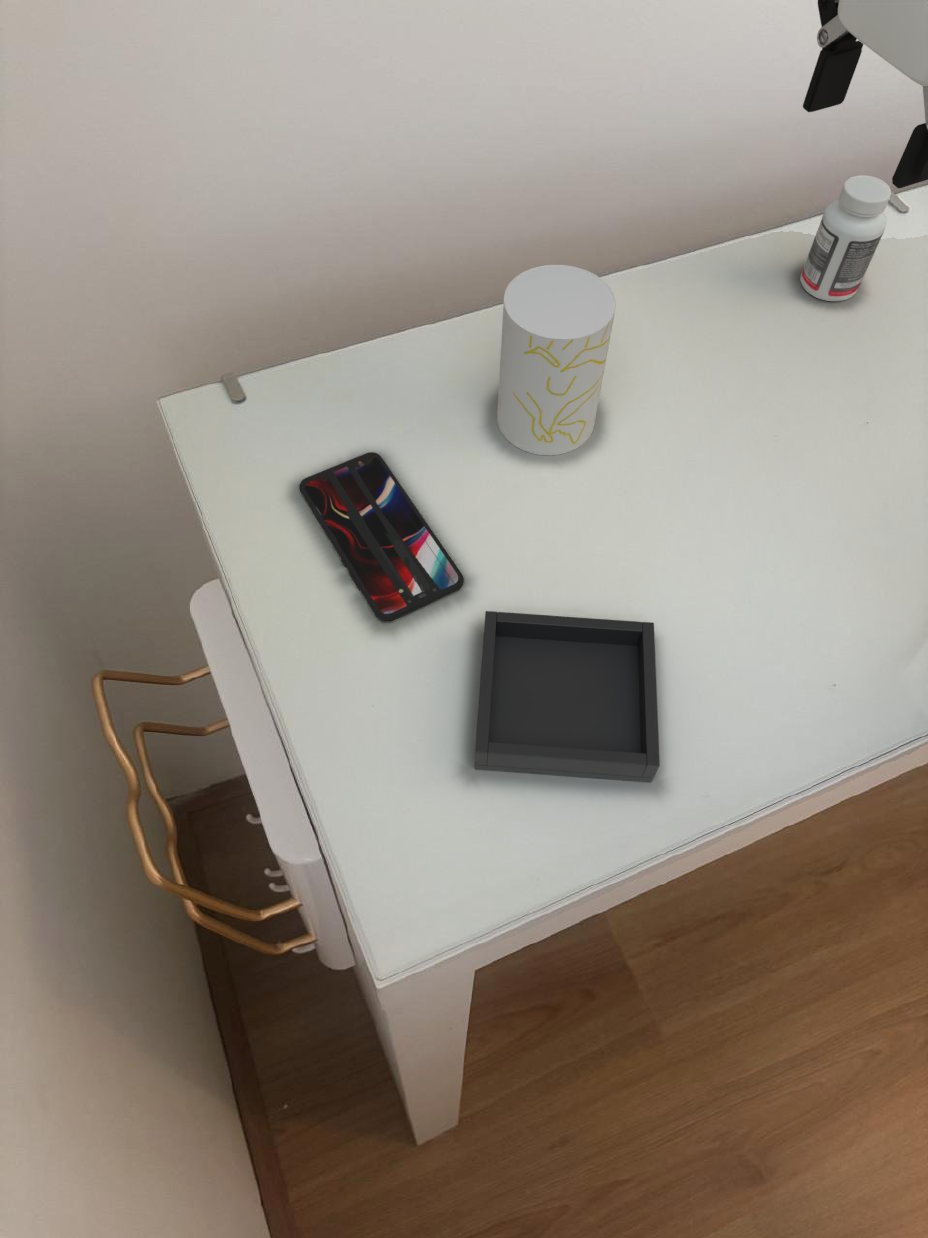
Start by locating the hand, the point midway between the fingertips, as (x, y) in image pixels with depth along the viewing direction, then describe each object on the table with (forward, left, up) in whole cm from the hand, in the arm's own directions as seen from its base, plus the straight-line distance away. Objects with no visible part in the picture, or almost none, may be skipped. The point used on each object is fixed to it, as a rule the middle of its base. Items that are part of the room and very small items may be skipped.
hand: (865, 142), depth 63 cm
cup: (+20, +8, -21) cm, 30 cm away
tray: (+18, +34, -20) cm, 44 cm away
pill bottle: (-6, -12, -21) cm, 24 cm away
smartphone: (+32, +21, -20) cm, 44 cm away
